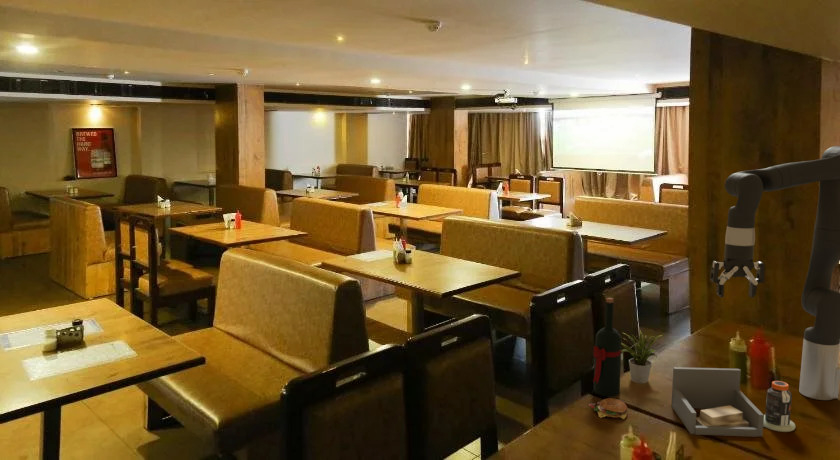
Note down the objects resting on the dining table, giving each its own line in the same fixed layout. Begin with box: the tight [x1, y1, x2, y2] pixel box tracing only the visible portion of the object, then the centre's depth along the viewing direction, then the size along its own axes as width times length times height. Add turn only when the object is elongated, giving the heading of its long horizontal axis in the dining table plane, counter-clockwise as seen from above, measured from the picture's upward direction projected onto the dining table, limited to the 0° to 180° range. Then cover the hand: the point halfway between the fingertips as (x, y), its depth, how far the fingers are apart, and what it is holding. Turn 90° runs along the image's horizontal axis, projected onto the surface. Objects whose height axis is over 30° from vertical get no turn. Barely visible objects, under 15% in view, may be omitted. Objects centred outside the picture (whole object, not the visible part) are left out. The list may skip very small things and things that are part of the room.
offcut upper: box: [699, 405, 743, 426], centre depth 170 cm, size 10×5×2 cm, turn 106°
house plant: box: [621, 329, 664, 384], centre depth 202 cm, size 14×14×16 cm
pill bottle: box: [764, 380, 793, 426], centre depth 170 cm, size 6×6×11 cm
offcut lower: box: [696, 416, 749, 427], centre depth 170 cm, size 13×5×2 cm, turn 96°
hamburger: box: [588, 397, 628, 420], centre depth 180 cm, size 14×14×6 cm
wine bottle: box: [592, 297, 622, 398], centre depth 191 cm, size 8×10×30 cm
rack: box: [671, 366, 765, 438], centre depth 173 cm, size 18×18×12 cm
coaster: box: [763, 414, 796, 433], centre depth 171 cm, size 9×9×1 cm
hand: (735, 296), depth 182 cm, fingers open, 8 cm apart
